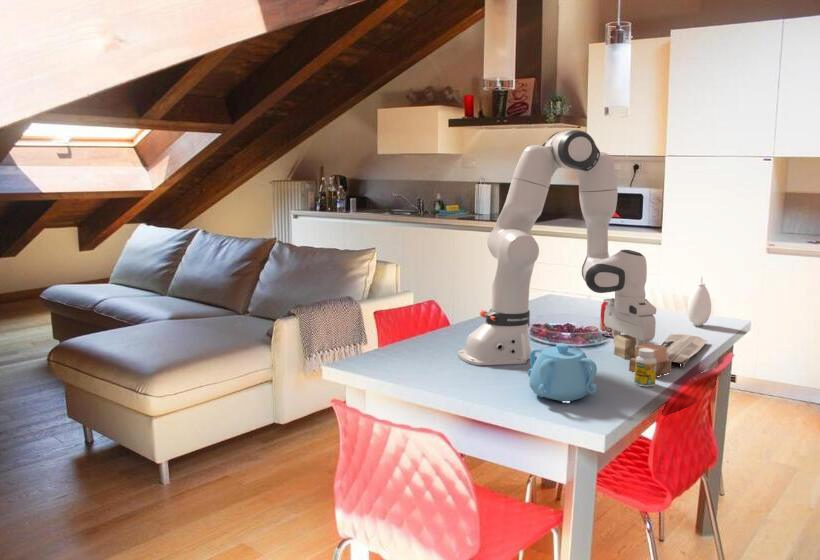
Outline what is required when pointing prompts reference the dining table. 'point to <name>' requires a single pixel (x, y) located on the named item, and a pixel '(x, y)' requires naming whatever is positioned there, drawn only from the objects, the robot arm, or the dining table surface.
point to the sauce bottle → (699, 305)
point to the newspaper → (682, 347)
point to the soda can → (602, 325)
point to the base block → (660, 367)
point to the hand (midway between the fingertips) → (626, 347)
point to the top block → (659, 351)
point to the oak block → (624, 346)
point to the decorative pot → (561, 373)
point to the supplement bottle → (645, 368)
